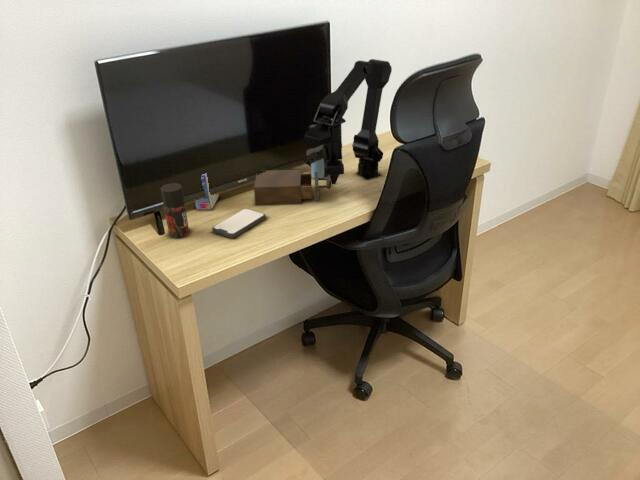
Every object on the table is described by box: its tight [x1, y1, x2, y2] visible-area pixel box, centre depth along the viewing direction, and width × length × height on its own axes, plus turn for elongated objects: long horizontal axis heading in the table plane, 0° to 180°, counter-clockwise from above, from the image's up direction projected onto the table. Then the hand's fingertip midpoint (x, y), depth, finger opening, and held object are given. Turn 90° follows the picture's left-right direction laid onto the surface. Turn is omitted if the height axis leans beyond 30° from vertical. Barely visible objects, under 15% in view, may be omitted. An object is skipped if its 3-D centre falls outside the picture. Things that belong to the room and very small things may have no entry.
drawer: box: [301, 172, 333, 201], centre depth 191 cm, size 18×12×5 cm
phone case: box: [211, 208, 266, 239], centre depth 175 cm, size 9×2×16 cm
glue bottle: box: [310, 159, 325, 179], centre depth 202 cm, size 5×5×12 cm
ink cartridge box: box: [194, 173, 220, 211], centre depth 185 cm, size 10×6×14 cm, turn 174°
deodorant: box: [160, 182, 190, 239], centre depth 168 cm, size 6×6×15 cm
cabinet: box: [253, 169, 302, 206], centre depth 191 cm, size 15×13×6 cm
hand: (333, 184), depth 190 cm, fingers closed
